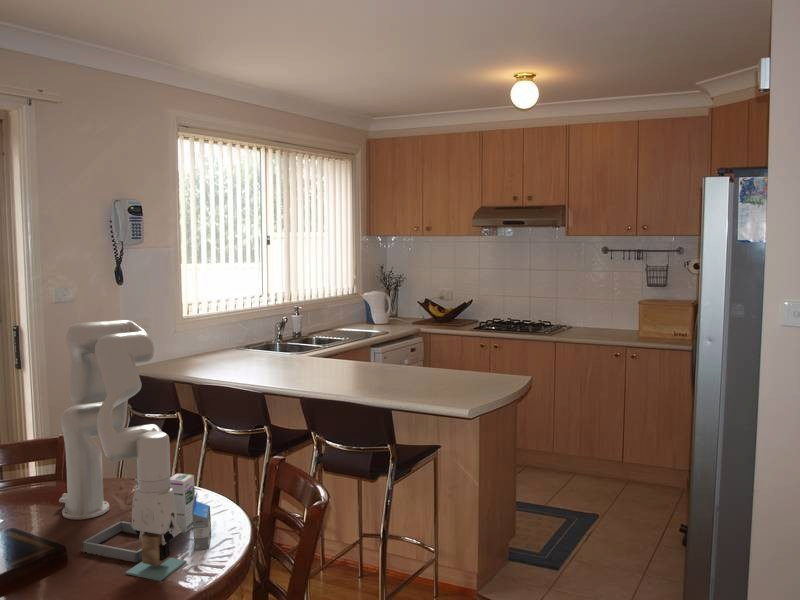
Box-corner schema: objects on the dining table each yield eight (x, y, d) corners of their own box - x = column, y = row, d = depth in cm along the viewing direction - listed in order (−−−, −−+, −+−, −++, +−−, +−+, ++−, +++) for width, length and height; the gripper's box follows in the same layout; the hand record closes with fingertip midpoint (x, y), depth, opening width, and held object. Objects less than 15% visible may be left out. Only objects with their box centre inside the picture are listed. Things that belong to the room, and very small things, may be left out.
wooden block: (142, 563, 173) (141, 535, 173) (154, 555, 178) (153, 528, 177) (157, 566, 172) (157, 538, 171) (169, 558, 176) (169, 530, 175)
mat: (125, 573, 172) (125, 571, 172) (153, 556, 181) (153, 554, 181) (160, 580, 169) (160, 578, 169) (186, 562, 178) (186, 560, 178)
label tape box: (209, 549, 185) (208, 503, 184) (192, 550, 185) (191, 504, 183) (211, 535, 194) (210, 491, 193) (196, 536, 193) (195, 492, 192)
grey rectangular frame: (81, 551, 184) (81, 542, 183) (121, 529, 197) (120, 520, 197) (137, 562, 178) (137, 552, 178) (174, 539, 191) (173, 530, 191)
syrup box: (186, 533, 195) (185, 481, 194) (166, 531, 196) (164, 479, 195) (196, 524, 201) (195, 474, 199) (176, 522, 202) (175, 472, 201)
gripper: (114, 484, 172) (117, 557, 174) (173, 493, 167) (175, 569, 168) (136, 474, 179) (138, 545, 181) (193, 483, 174) (194, 555, 175)
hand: (156, 555), depth 175 cm, fingers closed on wooden block, 4 cm apart
